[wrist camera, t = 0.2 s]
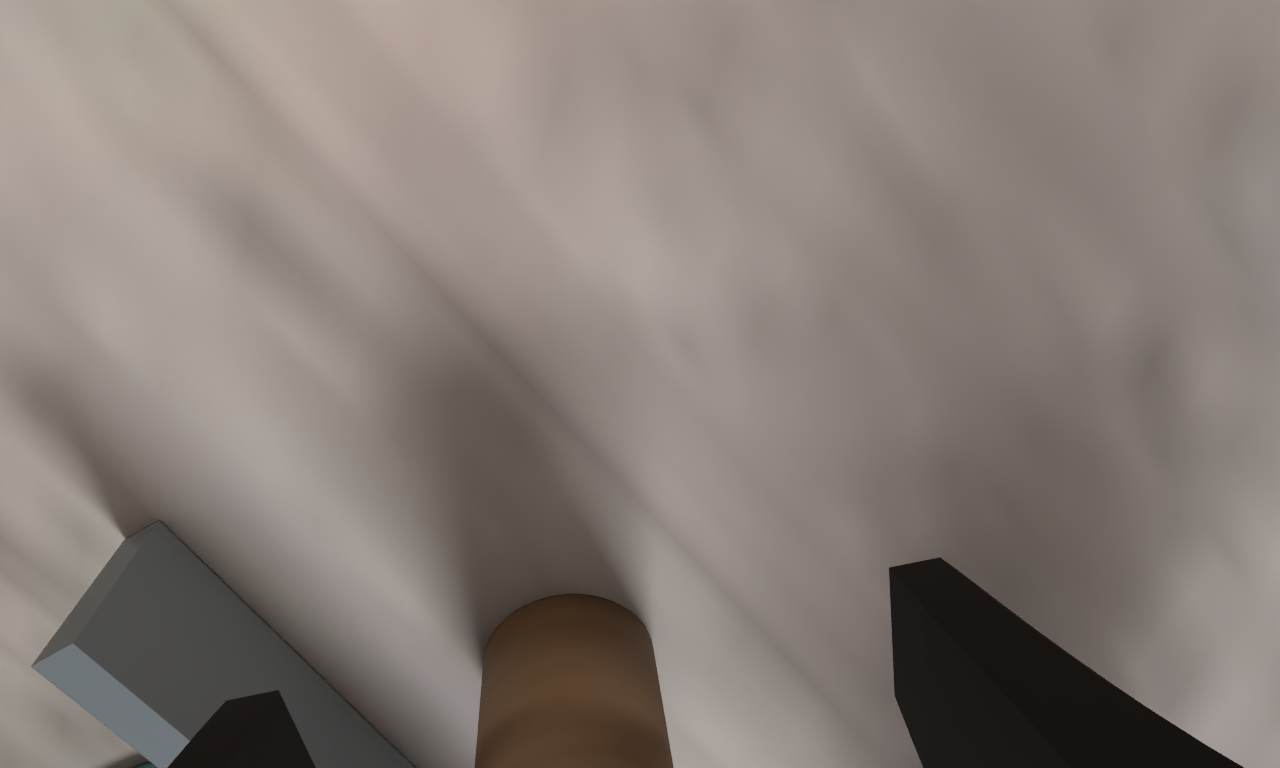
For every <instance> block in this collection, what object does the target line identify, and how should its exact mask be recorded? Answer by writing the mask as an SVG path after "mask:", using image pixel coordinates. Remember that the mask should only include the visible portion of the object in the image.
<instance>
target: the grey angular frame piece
mask: <svg viewBox="0 0 1280 768" xmlns="http://www.w3.org/2000/svg"><path fill="white" fill-rule="evenodd" d="M31 667H32V668H33V669H35V670H36V671H37V672H38V673H40V674H41V675H42V676H43V677H45V678H46V679H47V680H48V681H50V682H51V683H52V684H53V685H55V686H56V687H57V688H58V689H60V690H61V691H62V692H64V693H65V694H66V695H67V696H69V697H70V698H71V699H72V700H74V701H75V702H76V703H77V704H79V705H80V706H81V707H82V708H84V709H85V710H86V711H87V712H89V713H90V714H91V715H92V716H94V717H95V718H96V719H97V720H99V721H100V722H101V723H102V724H104V725H105V726H106V727H107V728H109V729H110V730H111V731H112V732H114V733H115V734H116V735H117V736H119V737H120V738H121V739H122V740H124V741H125V742H126V743H127V744H129V745H130V746H131V747H133V748H134V749H135V750H136V751H138V752H139V753H140V754H141V755H143V756H144V757H145V758H146V759H148V760H149V761H150V762H151V763H153V764H154V765H155V766H156V767H158V768H167V767H168V766H169V765H170V764H171V763H172V762H173V760H174V759H175V758H176V757H177V756H178V755H179V753H180V752H181V751H182V750H183V749H184V748H185V746H186V745H187V744H188V743H189V742H190V741H191V739H192V738H193V737H194V736H195V735H196V734H197V732H198V731H199V730H200V729H201V728H202V727H203V726H204V724H205V723H206V722H207V721H208V720H209V719H210V718H211V717H212V715H213V714H214V713H215V712H216V711H217V710H218V709H219V708H220V707H221V706H222V705H223V704H224V702H225V701H226V700H231V699H236V698H241V697H246V696H251V695H256V694H261V693H266V692H271V691H276V690H279V692H280V694H281V696H282V698H283V700H284V702H285V704H286V707H287V709H288V711H289V713H290V715H291V717H292V719H293V721H294V723H295V725H296V727H297V729H298V732H299V734H300V736H301V738H302V740H303V742H304V744H305V746H306V748H307V750H308V752H309V755H310V757H311V759H312V761H313V763H314V765H315V767H316V768H414V767H413V766H412V765H411V764H410V763H409V762H408V761H407V760H406V759H405V758H404V757H403V756H402V755H401V754H400V753H399V752H398V751H397V750H396V749H395V748H394V747H393V746H392V745H391V744H390V743H389V742H387V741H386V740H385V739H384V738H383V737H382V736H381V735H380V734H379V733H378V732H377V731H376V730H375V729H374V728H373V727H372V726H371V725H370V724H369V723H368V722H367V721H366V720H365V719H364V718H363V717H362V716H361V715H360V714H359V713H358V712H357V711H355V710H354V709H353V708H352V707H351V706H350V705H349V704H348V703H347V702H346V701H345V700H344V699H343V698H342V697H341V696H340V695H339V694H338V693H337V692H336V691H335V690H334V689H333V688H332V687H331V686H330V685H329V684H328V683H327V682H326V681H325V680H323V679H322V678H321V677H320V676H319V675H318V674H317V673H316V672H315V671H314V670H313V669H312V668H311V667H310V666H309V665H308V664H307V663H306V662H305V661H304V660H303V659H302V658H301V657H300V656H299V655H298V654H297V653H296V652H295V651H294V650H292V649H291V648H290V647H289V646H288V645H287V644H286V643H285V642H284V641H283V640H282V639H281V638H280V637H279V636H278V635H277V634H276V633H275V632H274V631H273V630H272V629H271V628H270V627H269V626H268V625H267V624H266V623H265V622H264V621H263V620H262V619H260V618H259V617H258V616H257V615H256V614H255V613H254V612H253V611H252V610H251V609H250V608H249V607H248V606H247V605H246V604H245V603H244V602H243V601H242V600H241V599H240V598H239V597H238V596H237V595H236V594H235V593H234V592H233V591H232V590H231V589H230V588H228V587H227V586H226V585H225V584H224V583H223V582H222V581H221V580H220V579H219V578H218V577H217V576H216V575H215V574H214V573H213V572H212V571H211V570H210V569H209V568H208V567H207V566H206V565H205V564H204V563H203V562H202V561H201V560H200V559H199V558H198V557H196V556H195V555H194V554H193V553H192V552H191V551H190V550H189V549H188V548H187V547H186V546H185V545H184V544H183V543H182V542H181V541H180V540H179V539H178V538H177V537H176V536H175V535H174V534H173V533H172V532H171V531H170V530H169V529H168V528H167V527H166V526H164V525H163V524H162V523H161V522H160V521H159V520H158V521H157V522H155V523H153V524H152V525H150V526H148V527H146V528H145V529H143V530H141V531H139V532H138V533H136V534H134V535H132V536H131V537H129V538H127V539H125V540H124V541H123V543H122V544H121V545H120V547H119V548H118V549H117V551H116V552H115V553H114V555H113V556H112V557H111V559H110V560H109V561H108V563H107V564H106V566H105V567H104V568H103V570H102V571H101V572H100V574H99V575H98V576H97V578H96V579H95V580H94V582H93V583H92V585H91V586H90V587H89V589H88V590H87V591H86V593H85V594H84V595H83V597H82V598H81V599H80V601H79V602H78V604H77V605H76V606H75V608H74V609H73V610H72V612H71V613H70V614H69V616H68V617H67V618H66V620H65V621H64V623H63V624H62V625H61V627H60V628H59V629H58V631H57V632H56V633H55V635H54V636H53V637H52V639H51V640H50V641H49V643H48V644H47V646H46V647H45V648H44V650H43V651H42V652H41V654H40V655H39V656H38V658H37V659H36V660H35V662H34V663H33V665H32V666H31Z"/></svg>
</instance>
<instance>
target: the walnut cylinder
mask: <svg viewBox="0 0 1280 768" xmlns="http://www.w3.org/2000/svg"><path fill="white" fill-rule="evenodd" d="M475 768H673V762H672V756H671V750H670V744H669V739H668V733H667V727H666V721H665V715H664V709H663V703H662V697H661V691H660V685H659V680H658V674H657V668H656V662H655V656H654V650H653V645H652V641H651V638H650V636H649V633H648V631H647V630H646V628H645V626H644V625H643V623H642V622H641V621H640V620H639V619H638V618H637V617H636V616H635V615H634V614H633V613H632V612H630V611H629V610H627V609H626V608H624V607H623V606H621V605H619V604H617V603H615V602H613V601H610V600H607V599H604V598H601V597H596V596H591V595H582V594H566V595H557V596H552V597H547V598H543V599H540V600H537V601H534V602H532V603H530V604H527V605H525V606H523V607H522V608H520V609H518V610H516V611H515V612H513V613H512V614H511V615H510V616H508V617H507V618H506V619H505V620H504V621H503V622H502V623H501V624H500V625H499V626H498V627H497V628H496V630H495V631H494V632H493V634H492V636H491V637H490V639H489V641H488V644H487V646H486V649H485V654H484V661H483V673H482V686H481V698H480V710H479V722H478V735H477V747H476V759H475Z"/></svg>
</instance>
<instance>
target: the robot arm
mask: <svg viewBox="0 0 1280 768" xmlns="http://www.w3.org/2000/svg"><path fill="white" fill-rule="evenodd" d="M889 576H890V599H891V621H892V644H893V667H894V689H895V697H896V700H897V702H898V705H899V707H900V710H901V713H902V715H903V718H904V720H905V723H906V725H907V728H908V731H909V733H910V736H911V738H912V741H913V743H914V746H915V748H916V751H917V753H918V755H919V758H920V760H921V763H922V765H923V768H1244V767H1242V766H1240V765H1239V764H1237V763H1235V762H1234V761H1232V760H1230V759H1228V758H1227V757H1225V756H1223V755H1222V754H1220V753H1218V752H1217V751H1215V750H1213V749H1212V748H1210V747H1208V746H1207V745H1205V744H1203V743H1202V742H1200V741H1199V740H1197V739H1196V738H1194V737H1192V736H1191V735H1189V734H1188V733H1186V732H1185V731H1183V730H1181V729H1180V728H1178V727H1177V726H1175V725H1174V724H1172V723H1170V722H1169V721H1167V720H1166V719H1164V718H1163V717H1161V716H1159V715H1158V714H1156V713H1155V712H1153V711H1152V710H1150V709H1149V708H1147V707H1146V706H1144V705H1143V704H1141V703H1140V702H1138V701H1137V700H1135V699H1134V698H1132V697H1131V696H1129V695H1128V694H1126V693H1125V692H1123V691H1122V690H1120V689H1119V688H1117V687H1116V686H1114V685H1113V684H1111V683H1110V682H1109V681H1107V680H1106V679H1104V678H1103V677H1102V676H1100V675H1099V674H1097V673H1096V672H1094V671H1093V670H1092V669H1090V668H1089V667H1087V666H1086V665H1084V664H1083V663H1082V662H1080V661H1079V660H1077V659H1076V658H1074V657H1073V656H1072V655H1070V654H1069V653H1067V652H1066V651H1064V650H1063V649H1062V648H1060V647H1059V646H1058V645H1056V644H1055V643H1053V642H1052V641H1051V640H1049V639H1048V638H1047V637H1045V636H1044V635H1042V634H1041V633H1040V632H1038V631H1037V630H1036V629H1034V628H1033V627H1032V626H1030V625H1029V624H1028V623H1026V622H1025V621H1024V620H1022V619H1021V618H1020V617H1018V616H1017V615H1016V614H1014V613H1013V612H1012V611H1010V610H1009V609H1008V608H1006V607H1005V606H1004V605H1002V604H1001V603H1000V602H999V601H997V600H996V599H995V598H993V597H992V596H991V595H989V594H988V593H987V592H985V591H984V590H983V589H982V588H980V587H979V586H978V585H976V584H975V583H974V582H972V581H971V580H970V579H968V578H967V577H966V576H965V575H963V574H962V573H961V572H959V571H958V570H957V569H955V568H954V567H953V566H951V565H950V564H949V563H947V562H946V561H944V560H943V559H942V558H935V559H930V560H925V561H920V562H915V563H910V564H905V565H900V566H895V567H890V568H889ZM167 768H316V767H315V765H314V763H313V761H312V759H311V757H310V755H309V752H308V750H307V748H306V746H305V744H304V742H303V740H302V738H301V736H300V734H299V732H298V729H297V727H296V725H295V723H294V721H293V719H292V717H291V715H290V713H289V711H288V709H287V707H286V704H285V702H284V700H283V698H282V696H281V694H280V692H279V690H276V691H271V692H266V693H261V694H256V695H251V696H246V697H241V698H236V699H231V700H226V701H225V702H224V704H223V705H222V706H221V707H220V708H219V709H218V710H217V711H216V712H215V713H214V714H213V715H212V717H211V718H210V719H209V720H208V721H207V722H206V723H205V724H204V726H203V727H202V728H201V729H200V730H199V731H198V732H197V734H196V735H195V736H194V737H193V738H192V739H191V741H190V742H189V743H188V744H187V745H186V746H185V748H184V749H183V750H182V751H181V752H180V753H179V755H178V756H177V757H176V758H175V759H174V760H173V762H172V763H171V764H170V765H169V766H168V767H167Z"/></svg>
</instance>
